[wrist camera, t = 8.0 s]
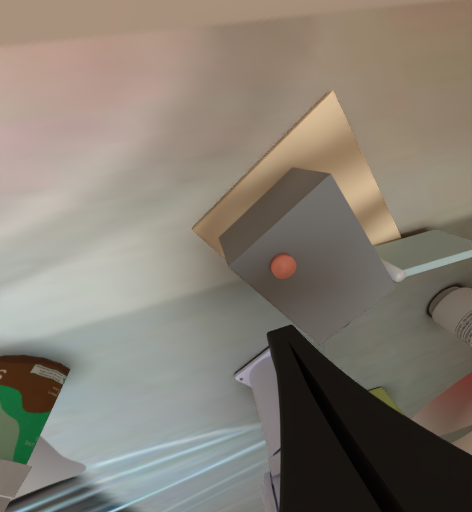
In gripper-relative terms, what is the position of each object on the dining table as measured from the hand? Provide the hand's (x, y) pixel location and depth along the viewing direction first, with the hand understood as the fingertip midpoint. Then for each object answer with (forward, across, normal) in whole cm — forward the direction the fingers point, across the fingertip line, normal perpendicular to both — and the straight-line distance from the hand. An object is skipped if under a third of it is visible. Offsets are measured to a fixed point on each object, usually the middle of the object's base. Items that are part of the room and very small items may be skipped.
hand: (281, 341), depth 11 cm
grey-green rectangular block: (+9, -16, +3) cm, 19 cm away
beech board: (+10, -7, +1) cm, 12 cm away
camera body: (+9, -5, +1) cm, 11 cm away
